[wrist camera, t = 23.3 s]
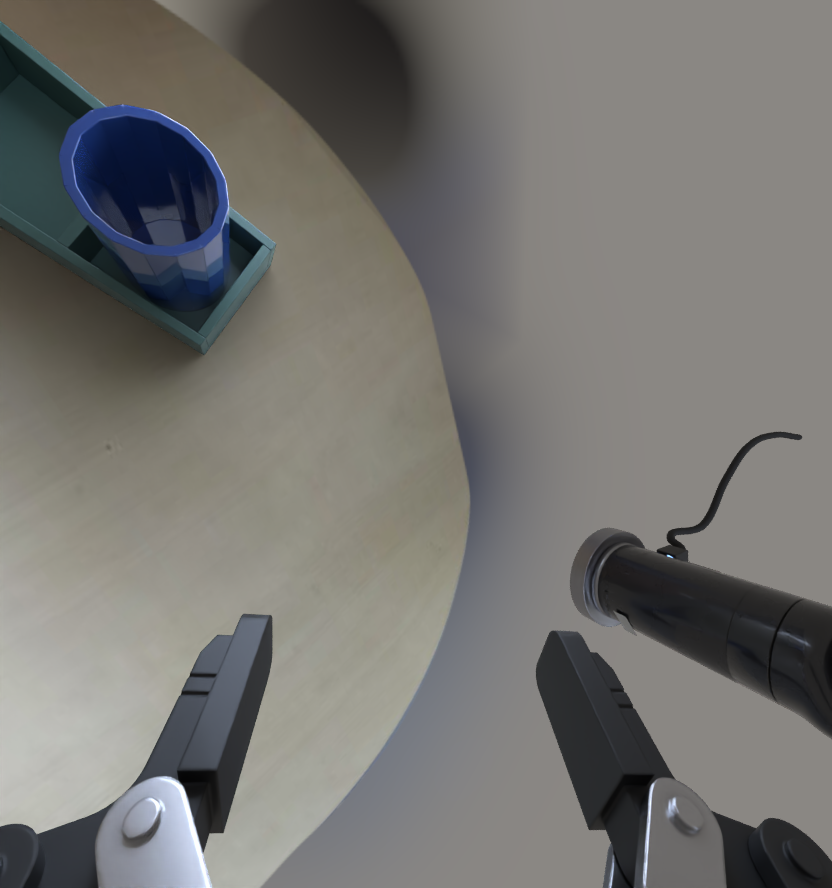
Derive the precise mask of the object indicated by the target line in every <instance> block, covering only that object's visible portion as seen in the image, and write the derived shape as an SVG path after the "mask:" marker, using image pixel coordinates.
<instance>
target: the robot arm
mask: <svg viewBox="0 0 832 888" xmlns="http://www.w3.org/2000/svg"><path fill="white" fill-rule="evenodd" d="M777 437H783V438H789V439H795V440H800V439H802V436H801V435H798V434H792V433H786V432H773V433H767V434H762V435H760V436H757V437H755V438H753V439H752V440H750V441H749V442H748V443H747V444H746V445H745V446H743V447H742V448H741V450H740V451H739V452H738V453H737V455H736V456H735V458H734V459H733V461H732V462H731V464H730V466H729V468H728V469H727V471H726V473H725V474H724V476H723V478H722V480H721V482H720V483H719V486H718V488H717V490H716V493H715V496H714V498H713V501H712V503H711V506H710V508H709V510H708V512H707V514H706V516H705V517H704V519H703V520H702V521H701V522H700V523H699V524H698V525H696V526H694V527H689V528H677V529H672V530H670V531H669V532H668V534H667V541H668V542H669V543H670V544H671V545H672V546H671V545H668V546H666V547H663V548H660V549H658V550H657V552H654V551H651V550H647V549H644V548H641V547H638V546H636V545H633V544H630V543H626V542H620V543H616V544H614V545H612V546H611V547H609V548H608V549H607V550H606V551H605V552H604V553H603V555H602V556H601V557H600V559H599V561H598V563H597V565H596V567H595V570H594V574H593V579H592V596H593V600H594V603H595V605H596V607H597V609H598V610H599V611H600V612H601V613H602V614H603V615H605V616H607V617H609V618H611V619H615V620H617V621H619V622H621V624H622V626H623V627H624V629H625V630H627V631H629V632H630V633H632V634H634V635H636V633H635V632H634V630H636V631H638V632H640V633H642V634H643V635H645V636H647V637H650V638H651V639H653V640H655V641H657V642H659V643H661V644H663V645H665V646H667V647H669V648H671V649H672V650H674V651H676V652H678V653H680V654H682V655H684V656H686V657H688V658H690V659H692V660H694V661H696V662H698V663H700V664H701V665H703V666H705V667H707V668H709V669H711V670H713V671H715V672H717V673H719V674H721V675H723V676H725V677H727V678H729V679H730V680H732V681H734V682H737V683H739V684H741V685H742V686H744V687H746V688H748V689H750V690H752V691H754V692H756V693H758V694H760V695H762V696H764V697H766V698H768V699H770V700H772V701H773V702H775V703H777V704H779V705H781V706H783V707H785V708H787V709H789V710H791V711H793V712H795V713H796V714H798V715H800V716H801V717H803V718H804V719H806V720H807V721H808V722H809V723H811V724H812V725H813V726H814V727H816V728H817V729H818V730H819V731H821V732H822V733H823V734H825V735H826V736H828V737H829V738H831V739H832V607H831V606H828V605H825V604H822V603H818V602H815V601H812V600H808V599H805V598H802V597H799V596H795V595H792V594H789V593H786V592H783V591H779V590H776V589H773V588H770V587H766V586H762V585H759V584H756V583H753V582H750V581H746V580H743V579H740V578H737V577H734V576H730V575H727V574H724V573H721V572H719V571H716V570H713V569H709V568H706V567H702V566H699V565H696V564H693V563H690V562H688V550H686V549H685V547H684V545H683V544H681V543H680V542H679V541H677V540H676V539H675V536H676V535H684V534H693V533H697V532H700V531H701V530H704V529H705V528H706V527H707V526H708V525H709V523H710V522H711V521H712V519H713V517H714V516H715V513H716V511H717V509H718V507H719V504H720V501H721V499H722V496H723V494H724V491H725V489H726V487H727V485H728V483H729V481H730V479H731V477H732V476H733V474H734V472H735V470H736V469H737V467H738V465H739V463H740V462H741V460H742V459H743V458H744V456H745V455H746V454H747V453H748V451H749V450H750V449H751V448H752V447H754V446H755V445H756V444H757V443H759V442H761V441H763V440H766V439H771V438H777ZM633 629H634V630H633ZM271 662H272V616H271V615H255V614H243V615H242V616H241V618H240V620H239V622H238V625H237V627H236V629H235V632H234V634H233V636H231V635H217V636H216V637H215V638H214V639H213V640H212V641H211V642H210V643H209V644H208V645H207V646H206V647H205V648H204V649H203V650H202V651H201V652H200V654H199V656H198V658H197V660H196V663H195V665H194V667H193V669H192V671H191V673H190V677H189V678H188V679H187V681H186V683H185V685H184V687H183V689H182V693H181V695H180V696H179V698H178V700H177V702H176V704H175V706H174V708H173V710H172V712H171V714H170V716H169V718H168V720H167V722H166V724H165V727H164V729H163V731H162V733H161V735H160V737H159V739H158V741H157V743H156V745H155V747H154V749H153V751H152V753H151V755H150V757H149V760H148V762H147V764H146V766H145V767H144V769H143V771H142V773H141V774H140V776H139V777H138V778H137V780H136V781H135V782H134V783H133V785H132V786H131V787H130V788H129V789H128V790H127V791H126V792H125V793H124V794H123V795H122V796H121V797H119V798H118V799H117V800H116V801H115V802H113V803H112V804H110V805H109V806H107V807H106V808H104V809H102V810H100V811H99V812H97V813H95V814H92V815H90V816H88V817H85V818H82V819H79V820H76V821H74V822H71V823H68V824H65V825H62V826H59V827H57V828H54V829H51V830H48V831H45V832H42V833H40V834H37V835H36V833H35V832H34V830H33V829H32V828H30V827H29V826H26V825H23V824H10V825H5V826H1V827H0V888H212V885H211V882H210V878H209V874H208V871H207V867H206V864H205V860H204V856H203V852H204V849H205V846H206V843H207V839H208V836H209V833H224V829H225V826H226V822H227V819H228V815H229V812H230V808H231V805H232V802H233V798H234V795H235V791H236V788H237V784H238V781H239V777H240V774H241V770H242V767H243V764H244V760H245V757H246V753H247V750H248V746H249V743H250V739H251V736H252V732H253V729H254V725H255V722H256V719H257V715H258V712H259V708H260V705H261V701H262V698H263V694H264V691H265V687H266V684H267V681H268V677H269V673H270V668H271ZM536 680H537V685H538V689H539V692H540V695H541V697H542V700H543V703H544V706H545V708H546V711H547V714H548V717H549V720H550V722H551V725H552V728H553V731H554V734H555V736H556V739H557V742H558V745H559V748H560V750H561V753H562V756H563V759H564V762H565V764H566V767H567V770H568V773H569V775H570V778H571V781H572V784H573V787H574V789H575V792H576V795H577V798H578V800H579V803H580V806H581V809H582V812H583V815H584V817H585V820H586V823H587V826H588V829H589V830H606V831H607V834H608V836H609V839H610V841H611V844H610V847H609V849H608V855H607V862H606V868H605V875H604V883H603V888H832V861H831V860H830V859H829V858H828V856H827V855H826V854H825V853H824V852H823V850H822V849H821V848H820V847H819V846H818V845H817V844H816V843H815V842H814V841H813V840H812V839H811V838H810V837H808V836H807V835H806V834H805V833H803V832H802V831H801V830H799V829H798V828H796V827H795V826H793V825H791V824H790V823H787V822H786V821H783V820H780V819H775V818H768V819H766V820H764V821H763V822H762V823H761V824H760V825H759V826H758V827H757V828H753V827H751V826H749V825H746V824H743V823H741V822H738V821H735V820H733V819H730V818H728V817H725V816H723V815H720V814H717V813H715V812H713V811H711V810H710V809H709V807H708V806H707V805H706V803H705V802H704V801H703V800H702V799H701V798H700V797H699V796H698V795H697V794H696V793H695V792H694V791H693V790H692V789H690V788H689V787H687V786H686V785H685V784H683V783H681V782H679V781H677V780H676V779H675V778H674V777H673V775H672V774H671V772H670V771H669V769H668V767H667V765H666V763H665V761H664V760H663V758H662V756H661V754H660V753H659V751H658V749H657V747H656V745H655V744H654V742H653V740H652V739H651V736H650V735H649V733H648V731H647V729H646V727H645V726H644V724H643V722H642V721H641V719H640V717H639V715H638V713H637V712H636V710H635V709H633V704H632V703H631V701H630V699H629V697H628V696H627V694H626V693H625V692H624V688H623V686H622V685H621V683H620V681H619V680H618V678H617V676H616V674H615V672H614V670H613V669H612V668H611V667H610V666H609V665H608V664H607V663H606V662H605V661H604V659H603V658H602V657H601V656H600V655H599V654H598V653H592V652H590V650H589V649H588V647H587V645H586V643H585V641H584V639H583V637H582V636H581V635H580V634H579V633H578V632H570V631H551V632H550V633H549V635H548V637H547V640H546V643H545V645H544V648H543V650H542V653H541V655H540V658H539V660H538V663H537V667H536Z"/></svg>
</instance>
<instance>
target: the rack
mask: <svg viewBox="0 0 832 888" xmlns="http://www.w3.org/2000/svg"><path fill="white" fill-rule="evenodd" d="M104 107H106V106H105V105H104V104H102V103H101V102H100V101H99V100H97V99H96V98H95V97H94V96H92V95H91V94H90V93H89V92H87V91H86V90H85V89H84V88H83V87H81V86H80V85H79V84H78V83H76V82H75V81H74V80H73V79H71V78H70V77H69V76H68V75H66V74H65V73H64V72H63V71H62V70H60V69H59V68H58V67H57V66H55V65H54V64H53V63H52V62H50V61H49V60H48V59H47V58H45V57H44V56H43V55H42V54H40V53H39V52H38V51H37V50H36V49H34V48H33V47H32V46H31V45H29V44H28V43H27V42H26V41H24V40H23V39H22V38H21V37H19V36H18V35H17V34H16V33H15V32H13V31H12V30H11V29H10V28H8V27H7V26H6V25H5V24H3V23H2V22H1V21H0V226H1V227H2V228H4V229H6V230H7V231H9V232H10V233H12V234H13V235H15V236H17V237H18V238H20V239H21V240H23V241H25V242H26V243H28V244H29V245H31V246H32V247H34V248H36V249H37V250H39V251H40V252H42V253H43V254H45V255H47V256H48V257H50V258H51V259H53V260H54V261H56V262H58V263H59V264H61V265H62V266H64V267H66V268H67V269H69V270H70V271H72V272H73V273H75V274H77V275H78V276H80V277H81V278H83V279H84V280H86V281H88V282H89V283H91V284H92V285H94V286H95V287H97V288H99V289H100V290H102V291H103V292H105V293H106V294H108V295H110V296H111V297H113V298H114V299H116V300H118V301H119V302H121V303H122V304H124V305H125V306H127V307H129V308H130V309H132V310H133V311H135V312H136V313H138V314H140V315H141V316H143V317H144V318H146V319H147V320H149V321H151V322H152V323H154V324H155V325H157V326H159V327H160V328H162V329H163V330H165V331H166V332H168V333H170V334H171V335H173V336H174V337H176V338H177V339H179V340H181V341H182V342H184V343H185V344H187V345H188V346H190V347H192V348H193V349H195V350H196V351H198V352H199V353H201V354H203V355H205V353H206V352H207V351H208V349H209V348H210V347H211V345H212V344H213V343H214V341H215V340H216V338H217V337H218V336H219V334H220V333H221V332H222V330H223V329H224V328H225V326H226V325H227V324H228V322H229V321H230V319H231V318H232V317H233V315H234V314H235V313H236V311H237V310H238V309H239V307H240V306H241V305H242V303H243V302H244V300H245V299H246V298H247V296H248V295H249V294H250V292H251V291H252V290H253V288H254V287H255V286H256V284H257V283H258V281H259V280H260V279H261V277H262V276H263V275H264V273H265V272H266V271H267V269H268V268H269V267H270V265H271V262H272V258H273V254H274V250H275V246H276V243H274V242H273V241H272V240H271V239H269V238H268V237H267V236H266V235H264V234H263V233H262V232H261V231H259V230H258V229H257V228H256V227H255V226H253V225H252V224H251V223H250V222H248V221H247V220H246V219H245V218H243V217H242V216H241V215H240V214H238V213H237V212H236V211H235V210H233V209H232V208H231V207H230V206H229V242H230V276H229V280H228V284H227V287H226V290H225V292H224V293H223V295H222V296H221V297H220V299H219V300H218V301H216V302H215V303H214V304H212V305H211V306H209V307H207V308H205V309H202V310H199V311H193V312H178V311H173V310H169V309H166V308H163V307H160V306H158V305H156V304H154V303H153V302H151V301H149V300H148V299H146V298H145V297H144V296H143V295H142V294H140V293H139V292H138V291H137V290H136V289H135V288H134V287H133V286H132V284H131V283H130V282H129V280H128V279H127V278H126V276H125V275H124V273H123V272H122V271H121V269H120V268H119V267H118V265H117V264H116V262H115V261H114V260H113V258H112V257H111V256H110V254H109V253H108V251H107V250H106V249H105V247H104V246H103V245H102V243H101V242H100V240H99V239H98V238H97V236H96V235H95V234H94V232H93V231H92V230H91V228H90V227H89V225H88V224H87V223H86V221H85V220H84V219H83V217H82V216H81V214H80V213H79V211H78V209H77V208H76V206H75V205H74V203H73V201H72V200H71V198H70V197H69V195H68V193H67V192H66V190H65V188H64V186H63V181H62V175H61V168H60V162H59V152H60V149H61V146H62V144H63V141H64V138H65V135H66V133H67V130H68V128H69V126H71V125H72V124H73V123H75V122H76V121H77V120H78V119H80V118H81V117H82V116H84V115H85V114H86V113H88V112H89V111H90V110H93V109H98V108H104Z"/></svg>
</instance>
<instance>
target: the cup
mask: <svg viewBox="0 0 832 888" xmlns="http://www.w3.org/2000/svg"><path fill="white" fill-rule="evenodd" d="M59 162H60V168H61V175H62V181H63V186H64V188H65V190H66V192H67V193H68V195H69V197H70V198H71V200H72V201H73V203H74V205H75V206H76V208H77V209H78V211H79V213H80V214H81V216H82V217H83V219H84V220H85V221H86V223H87V224H88V225H89V227H90V228H91V230H92V231H93V232H94V234H95V235H96V236H97V238H98V239H99V240H100V242H101V243H102V245H103V246H104V247H105V249H106V250H107V251H108V253H109V254H110V256H111V257H112V258H113V260H114V261H115V262H116V264H117V265H118V267H119V268H120V269H121V271H122V272H123V273H124V275H125V276H126V278H127V279H128V280H129V282H130V283H131V284H132V286H133V287H134V288H135V289H136V290H137V291H138V292H139V293H140V294H142V295H143V296H144V297H145V298H146V299H148V300H149V301H151V302H153V303H154V304H156V305H158V306H160V307H163V308H166V309H169V310H173V311H178V312H193V311H199V310H202V309H205V308H207V307H209V306H211V305H212V304H214V303H215V302H216V301H218V300H219V299H220V297H221V296H222V295H223V293H224V292H225V290H226V287H227V284H228V280H229V276H230V242H229V201H228V193H227V184H226V180H225V177H224V175H223V173H222V172H221V170H220V168H219V166H218V164H217V162H216V160H215V158H214V156H213V154H212V153H211V152H210V150H209V149H208V148H207V147H206V146H205V145H204V144H203V143H202V142H201V141H200V140H199V139H198V138H197V137H196V136H195V135H194V134H193V133H192V132H191V131H190V130H189V129H187V128H186V127H184V126H182V125H181V124H179V123H177V122H175V121H173V120H172V119H170V118H168V117H166V116H164V115H163V114H161V113H159V112H156V111H153V110H148V109H144V108H139V107H134V106H129V105H122V104H121V105H115V106H110V107H104V108H98V109H93V110H90V111H89V112H88V113H86V114H85V115H84V116H82V117H81V118H80V119H78V120H77V121H76V122H75V123H73V124H72V125H71V126H69V128H68V130H67V133H66V135H65V138H64V141H63V144H62V146H61V149H60V152H59Z"/></svg>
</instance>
